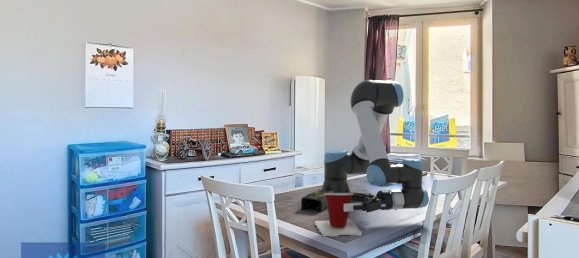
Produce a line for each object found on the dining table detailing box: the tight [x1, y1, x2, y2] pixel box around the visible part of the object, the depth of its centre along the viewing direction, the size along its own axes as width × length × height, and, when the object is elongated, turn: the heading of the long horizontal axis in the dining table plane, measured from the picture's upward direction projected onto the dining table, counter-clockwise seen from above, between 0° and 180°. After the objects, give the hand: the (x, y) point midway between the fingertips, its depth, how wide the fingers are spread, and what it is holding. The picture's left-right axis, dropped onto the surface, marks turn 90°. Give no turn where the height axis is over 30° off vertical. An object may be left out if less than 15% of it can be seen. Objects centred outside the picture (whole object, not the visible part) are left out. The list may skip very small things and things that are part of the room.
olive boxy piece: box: [300, 189, 334, 212], centre depth 159 cm, size 20×10×6 cm, turn 155°
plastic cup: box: [324, 192, 354, 227], centre depth 128 cm, size 11×11×12 cm
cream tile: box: [314, 219, 363, 237], centre depth 127 cm, size 14×14×1 cm
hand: (337, 202), depth 130 cm, fingers open, 13 cm apart
